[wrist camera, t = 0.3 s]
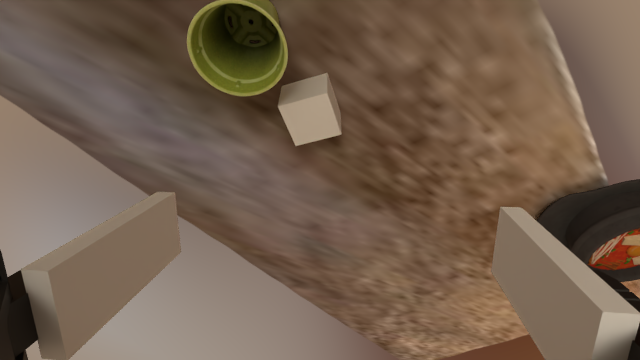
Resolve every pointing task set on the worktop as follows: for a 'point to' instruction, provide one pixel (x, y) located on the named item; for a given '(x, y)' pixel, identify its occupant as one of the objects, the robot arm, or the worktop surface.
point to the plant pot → (238, 46)
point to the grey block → (310, 109)
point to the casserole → (600, 228)
